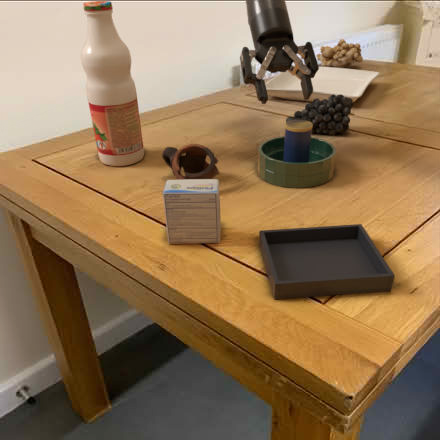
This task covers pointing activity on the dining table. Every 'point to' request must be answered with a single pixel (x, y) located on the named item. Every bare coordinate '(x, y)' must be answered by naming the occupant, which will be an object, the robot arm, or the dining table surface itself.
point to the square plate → (322, 84)
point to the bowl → (296, 164)
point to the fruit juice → (111, 89)
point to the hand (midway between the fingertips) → (286, 99)
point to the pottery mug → (191, 161)
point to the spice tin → (297, 141)
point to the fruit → (327, 114)
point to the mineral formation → (340, 55)
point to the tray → (323, 262)
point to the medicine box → (192, 211)
